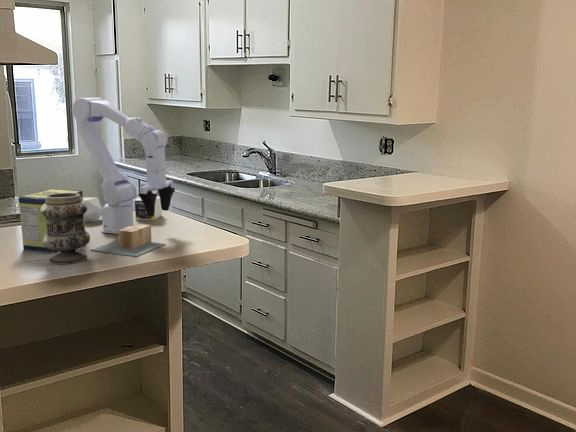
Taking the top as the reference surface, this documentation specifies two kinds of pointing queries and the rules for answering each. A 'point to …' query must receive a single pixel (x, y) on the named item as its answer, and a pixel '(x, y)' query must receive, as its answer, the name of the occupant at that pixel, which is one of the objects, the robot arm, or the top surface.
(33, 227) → the protein box
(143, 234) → the oak block
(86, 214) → the die
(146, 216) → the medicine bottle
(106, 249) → the slate mat
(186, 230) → the top surface
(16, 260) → the top surface
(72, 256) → the apothecary jar
